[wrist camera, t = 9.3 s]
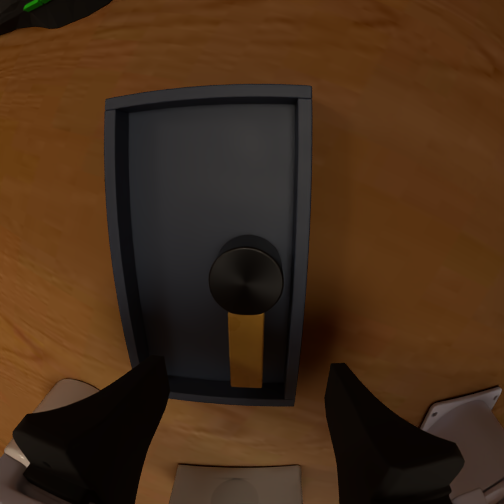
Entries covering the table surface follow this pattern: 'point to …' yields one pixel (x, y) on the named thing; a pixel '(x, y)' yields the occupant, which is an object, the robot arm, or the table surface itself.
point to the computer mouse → (44, 12)
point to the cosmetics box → (237, 485)
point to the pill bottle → (55, 407)
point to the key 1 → (246, 301)
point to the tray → (208, 225)
